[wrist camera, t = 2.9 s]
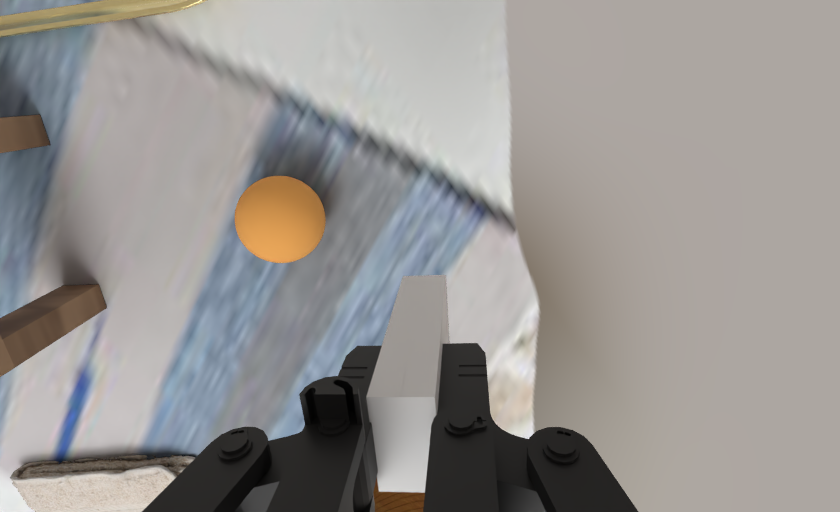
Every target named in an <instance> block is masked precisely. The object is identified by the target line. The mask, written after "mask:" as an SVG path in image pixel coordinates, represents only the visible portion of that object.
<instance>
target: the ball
mask: <svg viewBox="0 0 840 512" xmlns="http://www.w3.org/2000/svg"><path fill="white" fill-rule="evenodd" d="M325 221H326V219H325V212H324V208H323V205H322V202H321V200H320V198H319V197H318V195H317V194H316V193H315V192H314V190H312V189H311V188H310V187H309V186H308V185H307V184H305V183H303V182H302V181H300V180H297V179H295V178H292V177H288V176H270V177H267V178H263V179H261V180H259V181H257V182H255V183H253V184H252V185H251V186H250V187H248V188H247V189H246V190H245V192H244V193H243V194H242V196H241V197H240V199H239V201H238V203H237V206H236V210H235V226H236V230H237V233H238V236H239V238H240V240H241V241H242V243H243V244H244V246H245V247H246V248H247V249H248V250H249V251H250V252H251V253H253V254H254V255H256V256H257V257H259V258H261V259H263V260H266V261H270V262H275V263H287V262H292V261H296V260H299V259H301V258H303V257H305V256H306V255H308V254H309V253H310V252H311V251H313V250H314V248H315V247H316V246H317V245H318V243H319V242H320V240H321V238H322V236H323V233H324V229H325Z"/></svg>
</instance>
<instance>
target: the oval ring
mask: <svg viewBox="0 0 840 512" xmlns="http://www.w3.org/2000/svg"><path fill="white" fill-rule="evenodd" d="M165 1H166V2H165ZM205 1H207V0H172V1H171V0H103V1H97V2H90V3H84V4H77V5H71V6H64V7H58V8H51V9H45V10H38V11H32V12H25V13H18V14H12V15H5V16H0V38H2V37H9V36H16V35H23V34H29V33H36V32H43V31H50V30H57V29H63V28H70V27H77V26H84V25H91V24H97V23H104V22H111V21H118V20H125V19H131V18H138V17H145V16H152V15H159V14H165V13H172V12H176V11H181V10H185V9H188V8H191V7H193V6H196V5H199V4H201V3H203V2H205ZM158 2H159V3H158ZM145 4H146V5H145ZM138 5H139V6H138ZM125 7H126V8H125ZM118 8H119V9H118ZM105 10H106V11H105ZM98 11H99V12H98ZM85 13H86V14H85ZM78 14H79V15H78ZM65 16H66V17H65ZM58 17H59V18H58ZM52 18H53V19H52ZM45 19H46V20H45ZM38 20H39V21H38ZM32 21H33V22H32ZM25 22H26V23H25ZM12 24H13V25H12ZM5 25H6V26H5Z"/></svg>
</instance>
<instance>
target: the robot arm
mask: <svg viewBox="0 0 840 512" xmlns="http://www.w3.org/2000/svg"><path fill="white" fill-rule="evenodd" d="M299 395H300V400H301V405H302V410H303V415H304V420H305V426H304V429H303V431H302V432H300V433H298V434H294V435H291V436H288V437H283V438H279V439H275V440H271V441H268V438H267V436H266V434H265V433H264V431H263V430H261V429H258V428H256V427H242V428H237V429H233V430H231V431H228V432H226V433H224V434H222V435H220V436H219V437H218V438H216V439H215V440H214V441H213V442H211V443H210V444H209V445H208V446H207V447H206V448H205V449H204V450H203V451H202V452H201V453H200V454H199V455H198V456H197V457H196V458H195V459H194V460H193V461H192V462H191V463H190V464H189V465H188V466H187V467H186V468H185V469H184V470H183V471H182V472H181V473H180V474H179V475H178V476H177V477H176V478H175V479H174V480H173V481H172V482H171V483H170V484H169V485H168V486H167V487H166V488H165V489H164V490H163V491H162V492H161V493H160V494H159V495H158V496H157V497H156V498H155V499H154V500H153V501H152V502H151V503H150V504H149V505H148V506H147V507H146V508H145V509H144V510H143V511H142V512H375V502H374V494H373V492H374V487H375V482H376V478H377V482H378V489H379V492H419V493H425V497H424V507H423V512H638V511H637V509H636V508H635V506H634V505H633V503H632V502H631V500H630V499H629V497H628V496H627V495H626V493H625V492H624V490H623V489H622V487H621V486H620V484H619V483H618V481H617V480H616V479H615V477H614V476H613V474H612V473H611V471H610V470H609V468H608V467H607V465H606V464H605V463H604V461H603V460H602V458H601V457H600V455H599V454H598V452H597V451H596V449H595V448H594V447H593V445H592V444H591V443H590V442H589V441H588V440H587V439H586V438H585V437H584V436H582V435H581V434H579V433H577V432H575V431H573V430H569V429H565V428H561V427H548V428H544V429H541V430H538V431H536V432H535V433H534V434H533V435H532V436H531V437H530V438H529V439H525V438H521V437H518V436H515V435H512V434H509V433H507V432H506V431H504V430H502V429H501V428H500V427H498V426H497V425H496V424H495V422H494V421H493V419H492V418H491V414H490V406H489V393H488V381H487V368H486V356H485V352H484V351H483V350H482V349H481V347H480V346H479V345H478V344H477V343H461V344H449V324H448V306H447V287H446V275H428V276H403V278H402V281H401V284H400V288H399V291H398V294H397V298H396V301H395V304H394V307H393V311H392V314H391V317H390V321H389V324H388V327H387V330H386V334H385V337H384V340H383V344H382V346H357V347H356V348H355V349H353V350H352V351H351V352H350V353H349V354H348V355H347V356H346V358H345V360H344V363H343V365H342V369H341V370H340V372H339V375H338V376H333V377H325V378H322V379H320V380H317V381H314V382H313V383H311V384H309V385H308V386H306V387H305V388H304V389H303V391H302V392H301V393H300V394H299Z"/></svg>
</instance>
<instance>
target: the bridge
mask: <svg viewBox="0 0 840 512" xmlns="http://www.w3.org/2000/svg"><path fill="white" fill-rule="evenodd" d="M47 145H50V142H49V139H48V137H47V134H46V131H45V128H44V125H43V122H42V119H41V116H40V115H28V116H14V117H0V153H5V152H11V151H17V150H23V149H29V148H35V147H41V146H47ZM106 308H107V307H106V304H105V301H104V298H103V296H102V293H101V290H100V287H99V284H97V285H65V286H61V287H59V288H57V289H55V290H53V291H51V292H50V293H48V294H46V295H44V296H42V297H40V298H38V299H36V300H34V301H32V302H30V303H29V304H27V305H25V306H23V307H21V308H19V309H17V310H15V311H13V312H11V313H9V314H7V315H6V316H4V317H2V318H0V377H1V376H3V375H4V374H6V373H7V372H9V371H10V370H12V369H13V368H15V367H16V366H18V365H19V364H21V363H23V362H24V361H26V360H27V359H29V358H30V357H32V356H33V355H35V354H36V353H38V352H39V351H41V350H43V349H44V348H46V347H47V346H49V345H50V344H52V343H53V342H55V341H56V340H58V339H59V338H61V337H63V336H64V335H66V334H67V333H69V332H70V331H72V330H73V329H75V328H76V327H78V326H79V325H81V324H83V323H84V322H86V321H87V320H89V319H90V318H92V317H93V316H95V315H96V314H98V313H99V312H101V311H103V310H104V309H106Z"/></svg>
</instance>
